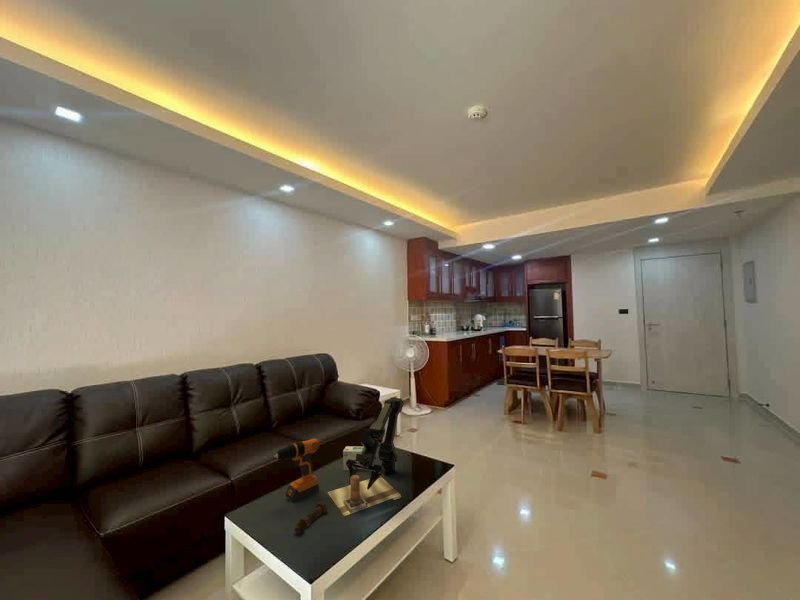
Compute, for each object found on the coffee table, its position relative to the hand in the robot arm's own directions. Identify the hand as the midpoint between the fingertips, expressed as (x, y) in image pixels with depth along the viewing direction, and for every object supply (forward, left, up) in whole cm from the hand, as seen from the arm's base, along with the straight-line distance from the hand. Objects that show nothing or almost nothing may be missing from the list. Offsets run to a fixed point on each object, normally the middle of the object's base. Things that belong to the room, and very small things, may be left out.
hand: (358, 487), depth 147 cm
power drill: (+22, -20, -8) cm, 31 cm away
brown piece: (+3, +2, -6) cm, 7 cm away
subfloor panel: (-4, -4, -7) cm, 10 cm away
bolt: (+22, +1, -8) cm, 24 cm away
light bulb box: (-11, -32, -8) cm, 34 cm away
